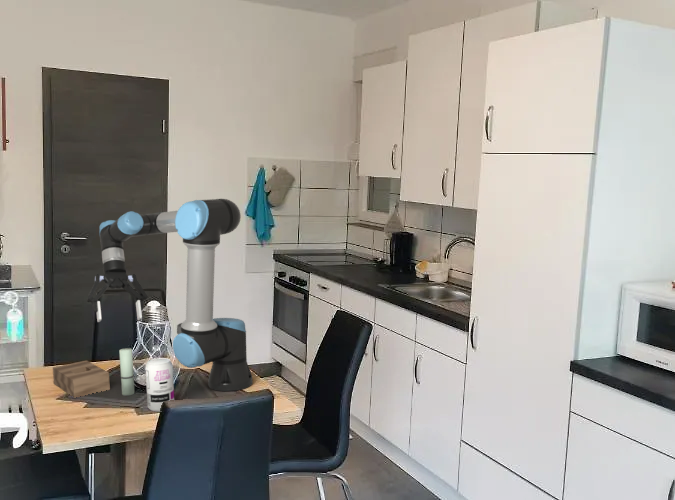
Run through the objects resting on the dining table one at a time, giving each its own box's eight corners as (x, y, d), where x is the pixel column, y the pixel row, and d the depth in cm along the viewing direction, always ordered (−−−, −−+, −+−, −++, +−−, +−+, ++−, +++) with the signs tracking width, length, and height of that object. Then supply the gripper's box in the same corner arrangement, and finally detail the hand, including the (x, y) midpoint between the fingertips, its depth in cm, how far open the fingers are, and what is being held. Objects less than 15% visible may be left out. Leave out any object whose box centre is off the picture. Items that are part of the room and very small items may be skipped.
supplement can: (161, 401, 219) (158, 356, 217) (180, 405, 215) (177, 359, 213) (142, 409, 212) (139, 362, 210) (161, 413, 208) (158, 366, 206)
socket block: (109, 389, 231) (108, 372, 231) (74, 398, 224) (73, 380, 223) (87, 376, 246) (86, 360, 246) (53, 383, 239) (52, 367, 238)
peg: (137, 393, 227) (134, 349, 225) (124, 396, 224) (122, 352, 222) (131, 390, 230) (129, 347, 228) (119, 393, 227) (116, 349, 226)
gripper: (145, 267, 249) (152, 321, 242) (74, 267, 236) (79, 325, 228) (151, 258, 243) (159, 314, 236) (79, 258, 230) (84, 317, 222)
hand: (120, 319), depth 232 cm, fingers open, 13 cm apart
